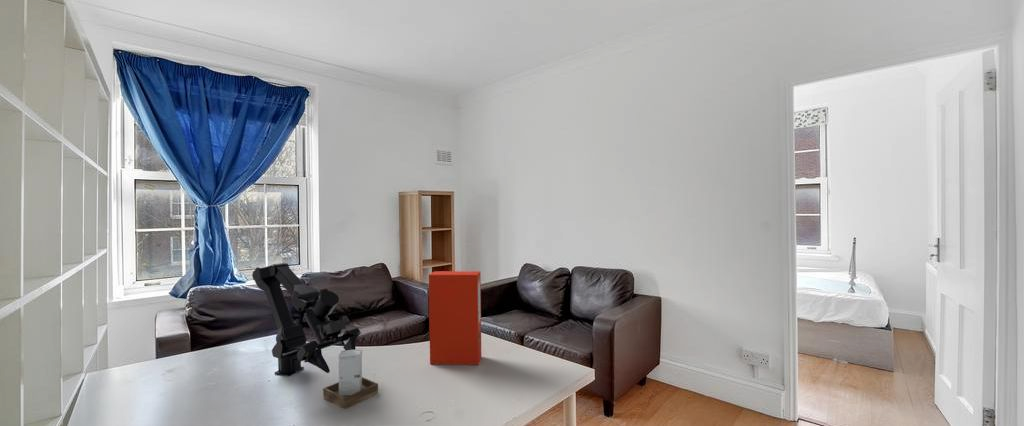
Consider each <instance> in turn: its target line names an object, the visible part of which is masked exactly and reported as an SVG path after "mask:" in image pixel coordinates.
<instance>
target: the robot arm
mask: <svg viewBox="0 0 1024 426" xmlns="http://www.w3.org/2000/svg"><path fill="white" fill-rule="evenodd" d="M252 279H253V281H254V282H255V284H256V286H257V288H258V289H260V290H261V291H264V293H265V295H266V298H267V301H268V304H269V306H270V307H269V308H270V310H271V312H272V315H273V319H274V321H275V324H276V327H277V332H276V333H277V334H276V335H275V344H274V345H273V348H272V349H271V353H272V357H274V358H276V359H277V362H278V363H277V365H278V366H277V367H278V368H277V369H278V370H276V371H274V375H280V376H286V377H290V376H292V375H294V374H296V373H298V372H299V371H302V370H303V369H304V368H305V367H304V366H303V365H302V364H301V363H302V362H304V363H309V364H311V365H313V366H315V367H317V368H318V369H320V370H321V371H323V372H325V373H326V374H329V373H330V372H331V370H330V367H329V365H328V364H327V361H326V360H325V358H324V356H323V353H322V350H323V349H325V348H329V347H331V346H334V345H337V344H341V345H343V349H344V351H345V350H357V349H356V348H357V347H356V341H357V340H358V338H359V337H360V335H361V334H362V332H361V330H360V328H359V327H357V326H354V327H352V328H349V329H347V326H349V325H350V324H351V322H350V319H349V317H348V316H347V315H343V316H341V317H338V320H333V319H331V320H330V317H328V316H329V315H330V314H331V313H332V312H333V310H334V309H335V307H336V306H337V304H338V303H339V300H340V298H339V296H338V294H336V293H335V292H333V291H332V290H331V291H330V290H328V288H327V287H326V288H321V289H320V290H319V291H318V290H317V289H315V288H314V287H313V286H309V285H306V284H305V283H304V282H303V281H302V280H301V279H300V278H299V277H298V276H297V274H296V273H295V272H294V271H293V270H292V269H291V268H290V266H289V264H288V263H287V262H279V263H273V264H271V265H264V266H258V267H256V268H255V269H254V270H253V271H252ZM281 285H282V286H283V287H284V289H285V290H286V291H287V292H288V293H289V294H290V296H291V300H290V301H291V303H292V305H293V307H294V309H295V310H296V311H297V312H302V311H305V310H307V311H306V312H304V313H303V317H302V323H305V322H306V323H307V325H308V326H309V328H310V330H311V331H312V332H311V334H310V336H311V338H315V339H316V340H312V341H309V342H307V335H306V333H305V330H304V328H303V325H302V324H301V323H300V324H296V323H295V322H294V320H293V317H292V314H291V312H290V308H289V305H288V303H287V300H286V298H285V295H284V292H283V290H282V286H281ZM342 330H345V331H344V332H343V334H342V335H341V333H342Z"/></svg>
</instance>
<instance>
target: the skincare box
mask: <svg viewBox="0 0 1024 426" xmlns="http://www.w3.org/2000/svg"><path fill="white" fill-rule="evenodd" d="M362 377H363V349H356V350H345V349H344V350H341V351H340V353H339V354H338V382H339V395H341V396H346V395H352V394H354V393H356V392H359V391H361V388H362Z"/></svg>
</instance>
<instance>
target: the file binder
mask: <svg viewBox="0 0 1024 426" xmlns="http://www.w3.org/2000/svg"><path fill="white" fill-rule="evenodd" d="M481 278H482V277H481V271H479V270H478V271H474V270H473V271H466V270H465V271H464V270H463V271H460V270H459V271H457V270H456V271H455V270H452V271H451V270H449V271H448V270H445V271H444V270H443V271H440V270H437V271H436V270H435V271H433V272H431V273H430V274H428V306H429V307H428V309H429V310H428V311H429V312H428V313H429V314H428V315H429V319H428V321H429V324H428V325H429V365H430V364H431V365H469V366H470V365H473V366H474V365H475V366H479V364H480V362H481V360H482V292H481V291H482V287H481V285H482V283H481Z"/></svg>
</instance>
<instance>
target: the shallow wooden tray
mask: <svg viewBox="0 0 1024 426" xmlns="http://www.w3.org/2000/svg"><path fill="white" fill-rule="evenodd" d="M377 394H379V383H378V382H375V381H372V380H370V379H368V378H365V377H363V376H362V388H361V391H359V392H356V393H354V394H352V395H346V396H341V395H339V381H337V382H335V383H333V384H330V385H328V386H326V387H323V388H322V397H323V400H325V401H328V402H329V403H331V404H334V405H335V406H338V407H339V408H342V409H343V410H346V409H349V408H351V407H353V406H355V405H357V404H359V403H361V402H363V401H365V400H368V399H369V398H371V397H374V396H376V395H377Z"/></svg>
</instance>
